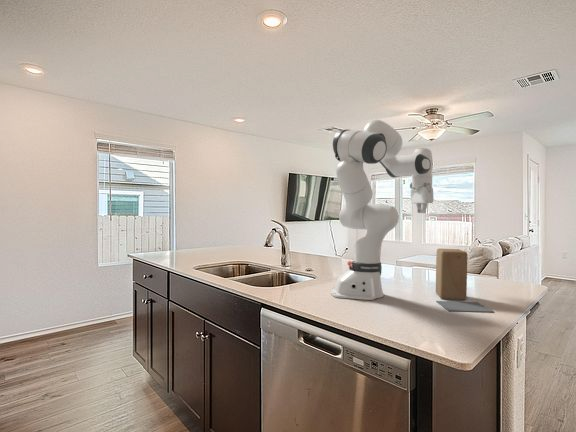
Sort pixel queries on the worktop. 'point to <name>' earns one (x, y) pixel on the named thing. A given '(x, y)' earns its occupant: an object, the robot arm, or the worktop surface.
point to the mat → (464, 306)
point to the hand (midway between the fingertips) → (421, 213)
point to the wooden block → (451, 274)
